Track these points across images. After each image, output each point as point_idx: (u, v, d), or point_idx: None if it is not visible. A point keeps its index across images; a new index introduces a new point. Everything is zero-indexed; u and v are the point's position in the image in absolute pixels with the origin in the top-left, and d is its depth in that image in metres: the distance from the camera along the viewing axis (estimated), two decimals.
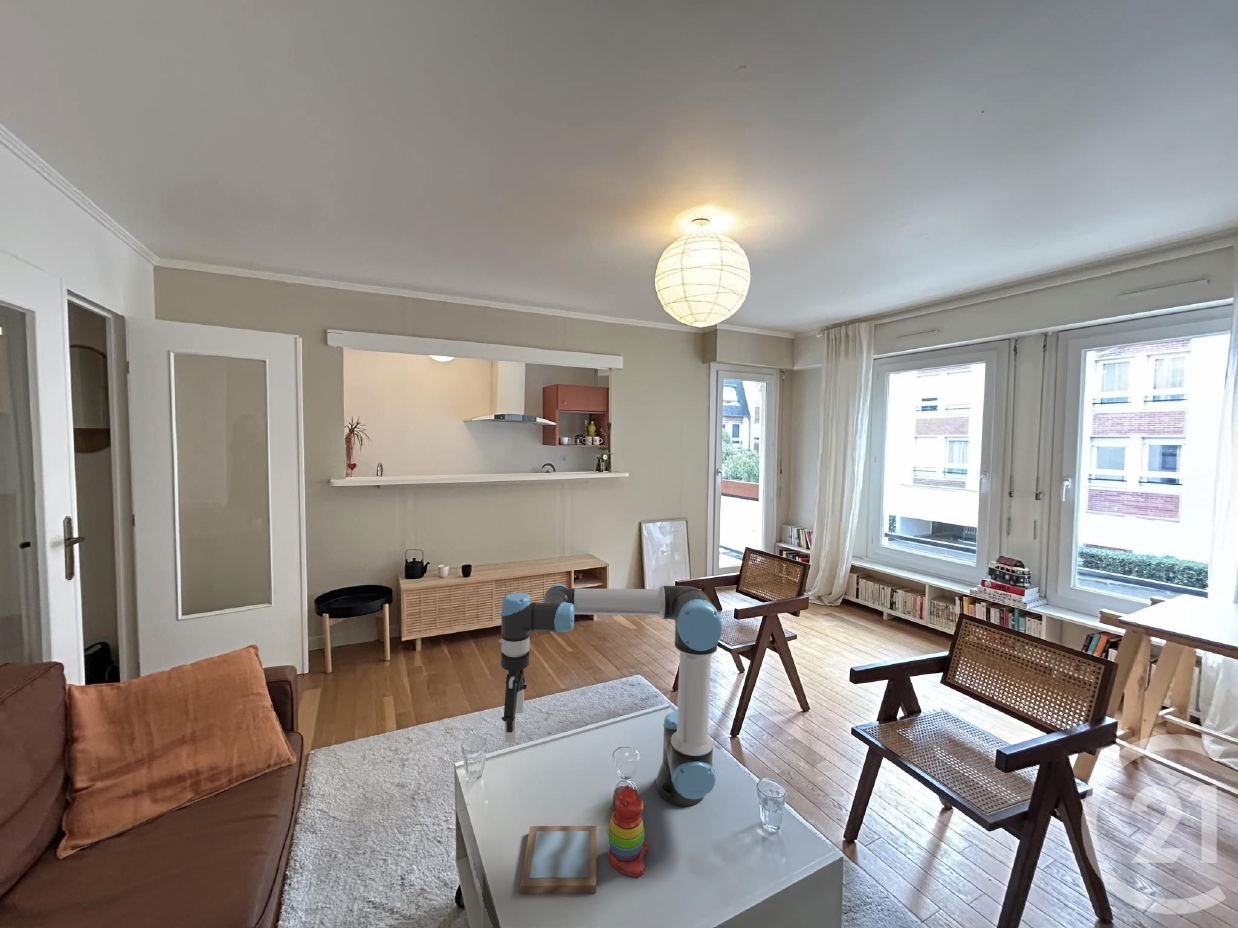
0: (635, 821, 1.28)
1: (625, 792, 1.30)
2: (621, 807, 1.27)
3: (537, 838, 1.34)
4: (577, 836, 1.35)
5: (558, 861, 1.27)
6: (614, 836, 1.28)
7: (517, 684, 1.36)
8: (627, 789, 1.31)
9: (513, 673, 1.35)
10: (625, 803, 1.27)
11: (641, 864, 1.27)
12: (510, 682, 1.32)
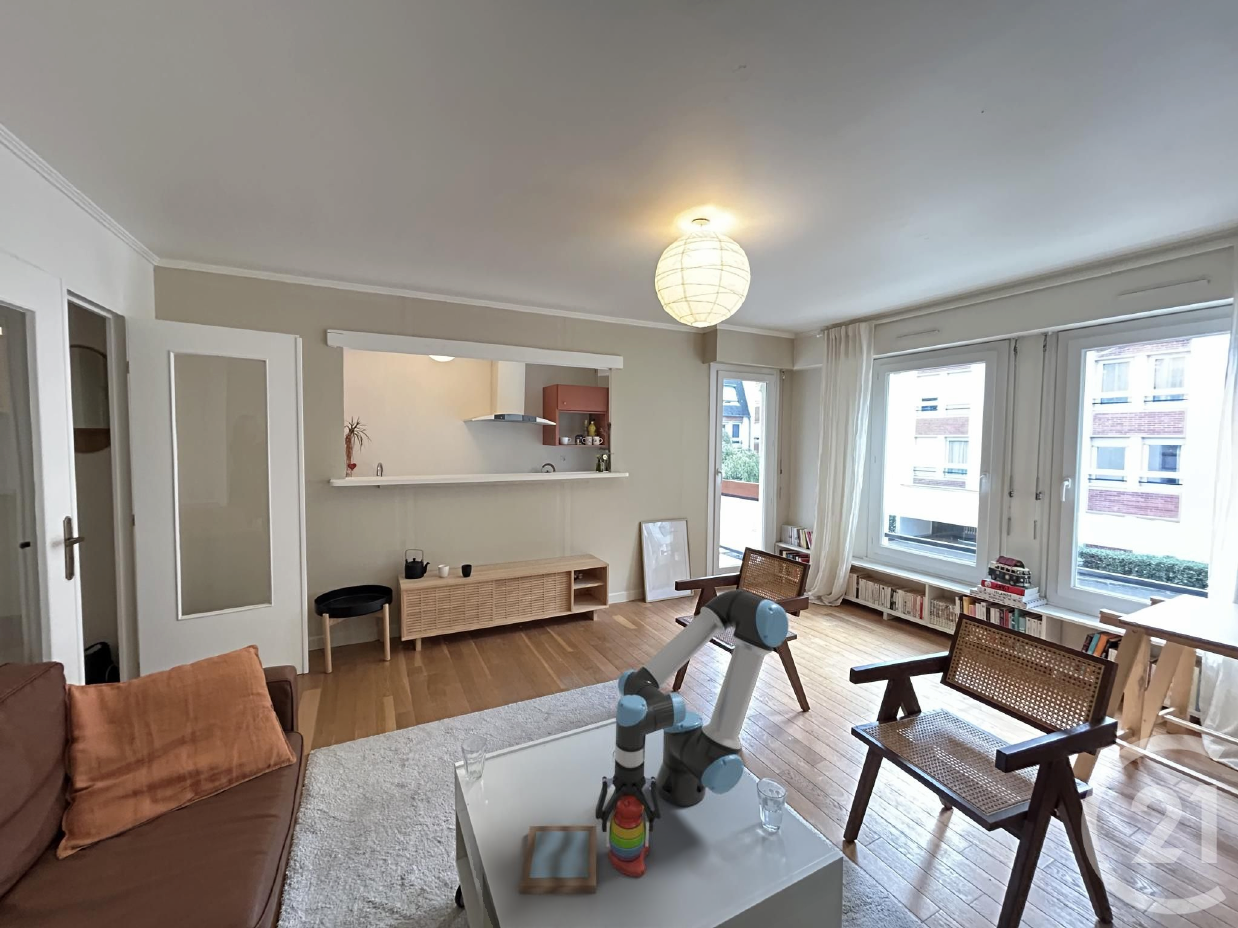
0: (635, 821, 1.28)
1: None
2: (622, 806, 1.27)
3: (537, 838, 1.34)
4: (577, 836, 1.35)
5: (558, 861, 1.27)
6: (615, 836, 1.28)
7: None
8: None
9: (613, 776, 1.29)
10: (626, 803, 1.27)
11: (642, 864, 1.27)
12: (602, 781, 1.29)
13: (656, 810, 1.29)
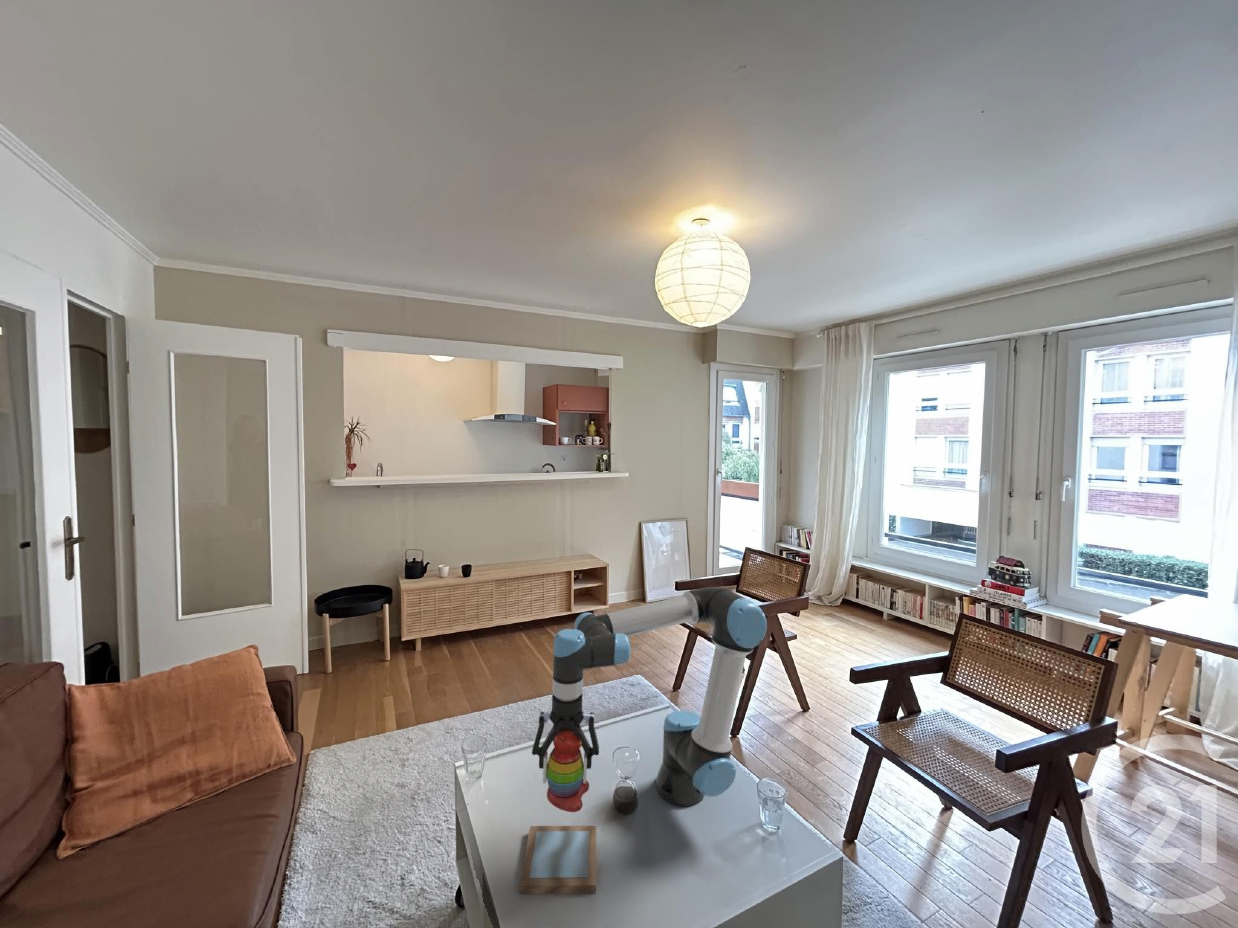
0: (572, 756, 1.25)
1: None
2: (559, 741, 1.24)
3: (537, 838, 1.34)
4: (577, 836, 1.35)
5: (558, 861, 1.27)
6: (551, 771, 1.25)
7: None
8: None
9: None
10: (562, 737, 1.24)
11: (578, 800, 1.24)
12: (539, 716, 1.26)
13: (594, 746, 1.26)
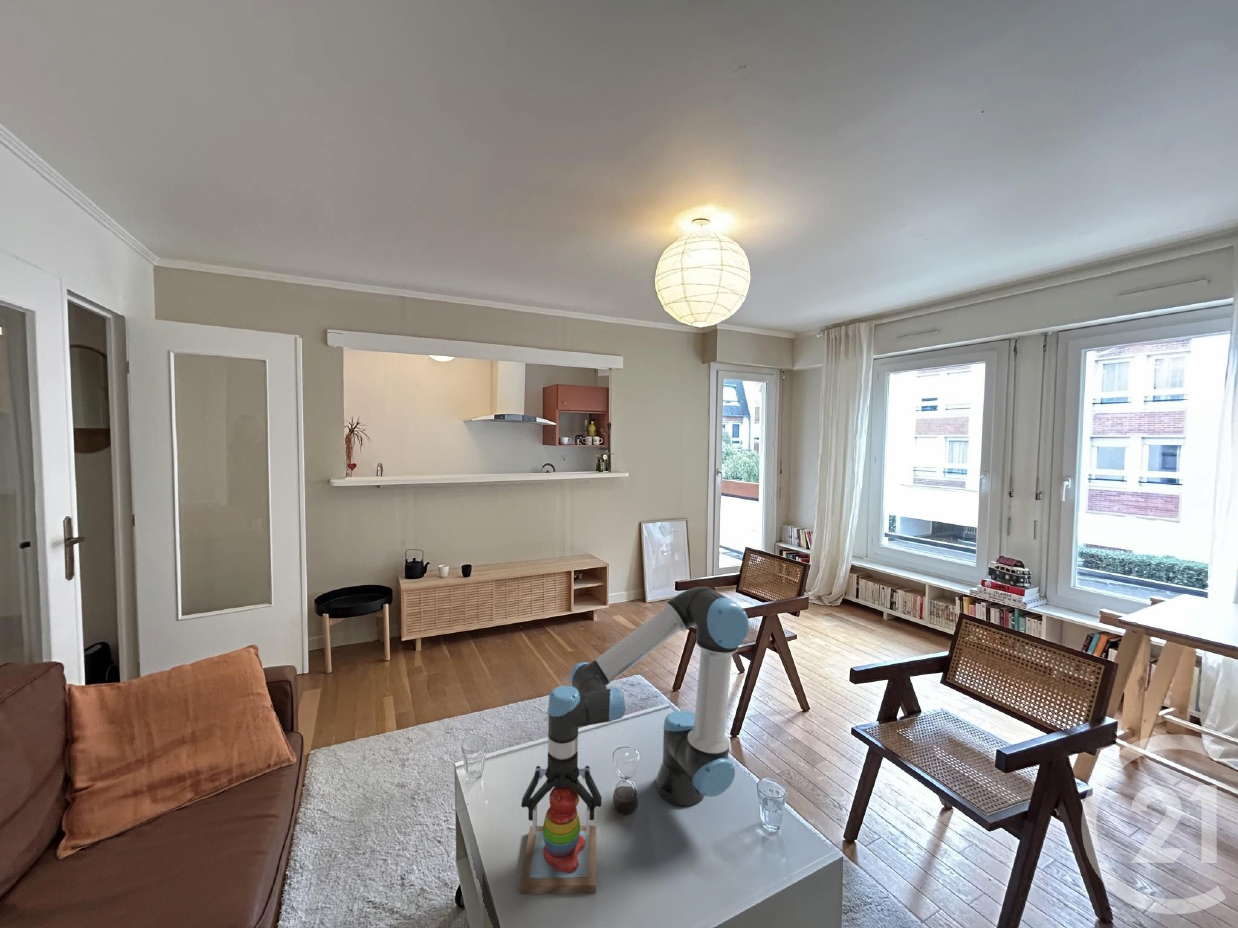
0: (568, 816, 1.26)
1: None
2: (555, 801, 1.26)
3: (537, 838, 1.34)
4: None
5: None
6: (547, 831, 1.26)
7: None
8: None
9: (547, 767, 1.27)
10: (558, 798, 1.25)
11: (574, 859, 1.25)
12: (535, 770, 1.27)
13: (595, 798, 1.27)
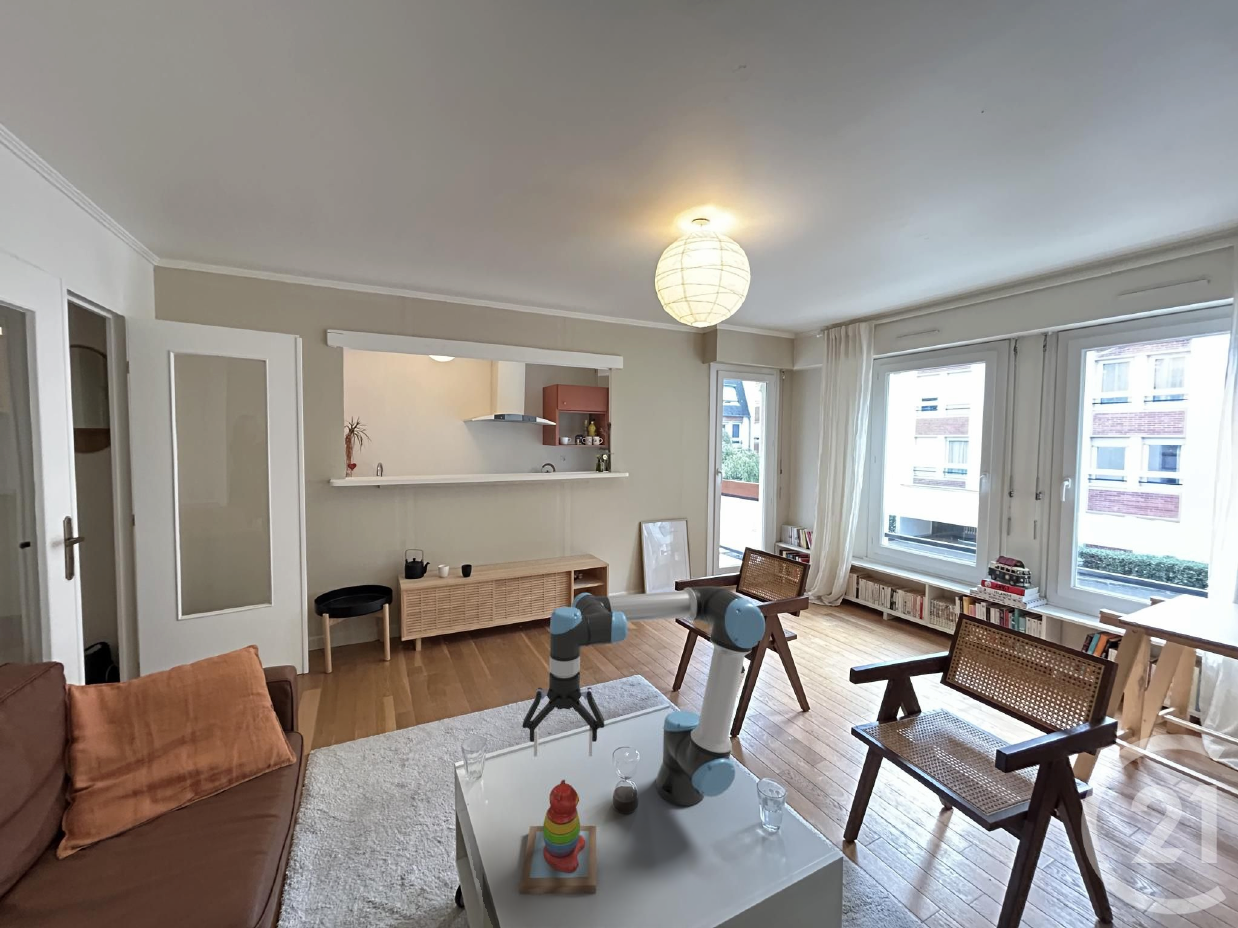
0: (568, 816, 1.26)
1: (559, 787, 1.28)
2: (555, 801, 1.26)
3: (537, 838, 1.34)
4: None
5: None
6: (547, 831, 1.26)
7: None
8: (562, 784, 1.29)
9: (549, 688, 1.26)
10: (558, 798, 1.25)
11: (574, 859, 1.25)
12: (537, 691, 1.26)
13: (598, 719, 1.26)
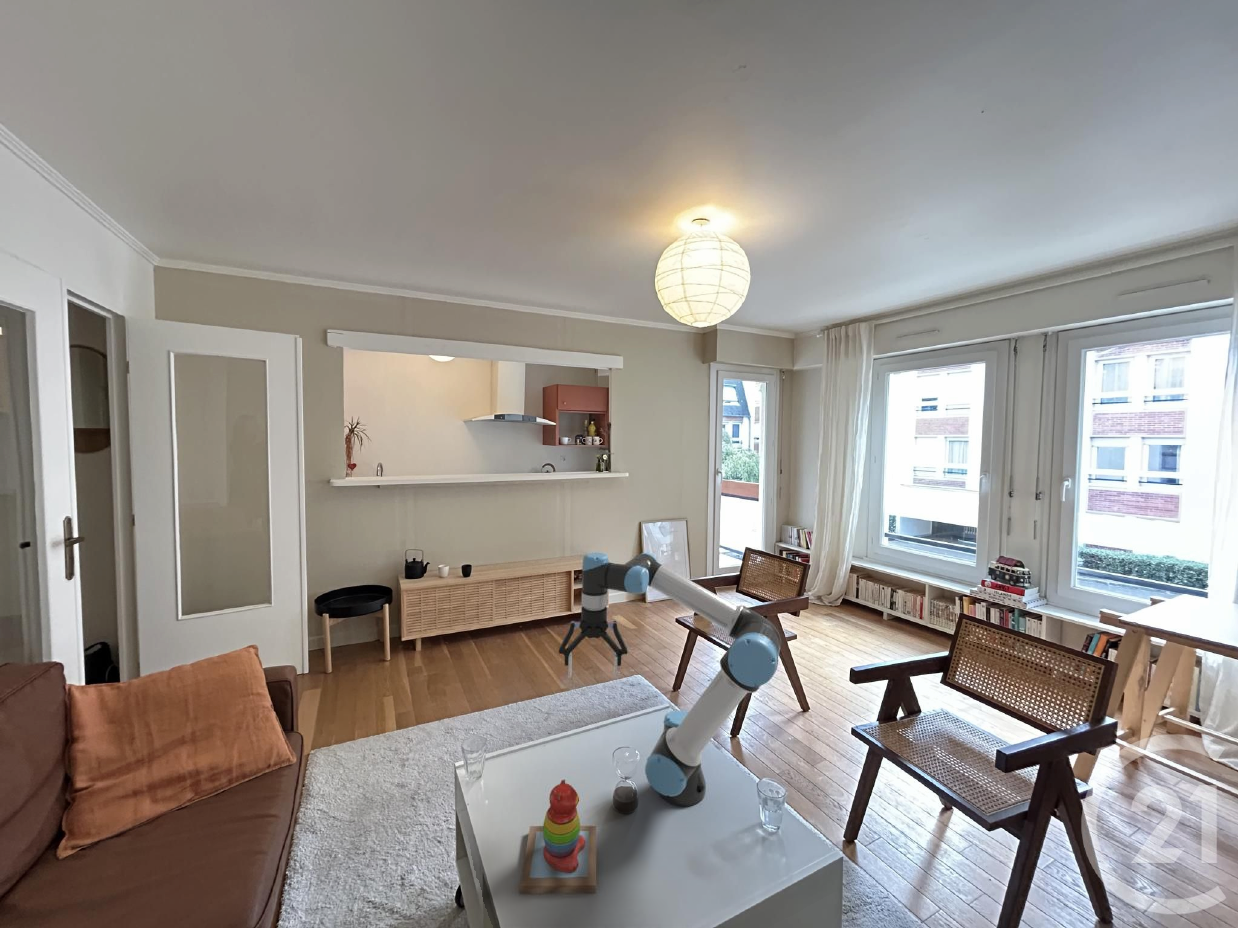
0: (568, 816, 1.26)
1: (559, 787, 1.28)
2: (555, 801, 1.26)
3: (537, 838, 1.34)
4: None
5: None
6: (547, 831, 1.26)
7: None
8: (562, 784, 1.29)
9: (581, 620, 1.50)
10: (558, 798, 1.25)
11: (574, 859, 1.25)
12: None
13: (622, 647, 1.50)
